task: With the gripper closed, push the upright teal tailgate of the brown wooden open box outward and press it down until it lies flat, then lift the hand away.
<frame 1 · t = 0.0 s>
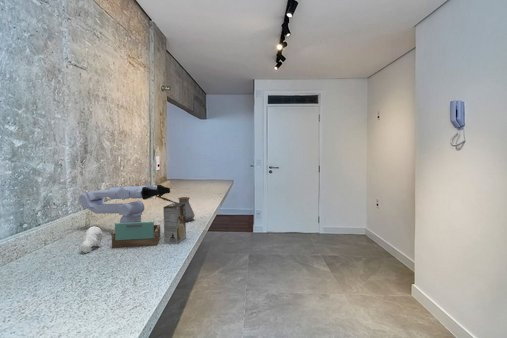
hand: (164, 191, 142), 22 cm above the worktop, tool horizontal, fingers open, 7 cm apart
coffee pot: (175, 221, 178), on the worktop
brown wooden open box: (134, 246, 132), on the worktop
tailgate: (134, 231, 132), point 7 cm above the worktop, hinge at 0.0°
white rounded lump: (90, 250, 129), on the worktop
coffee box: (175, 241, 141), on the worktop
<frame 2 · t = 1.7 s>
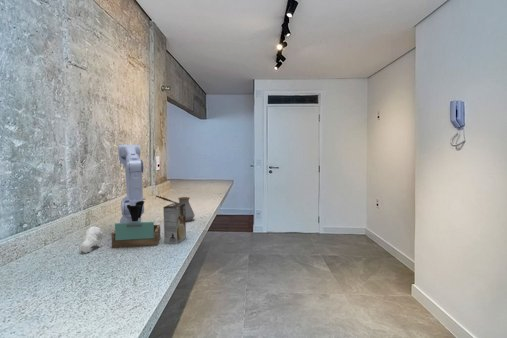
hand: (136, 219, 136), 10 cm above the worktop, tool pointing down, fingers open, 6 cm apart
nothing on the worktop moved.
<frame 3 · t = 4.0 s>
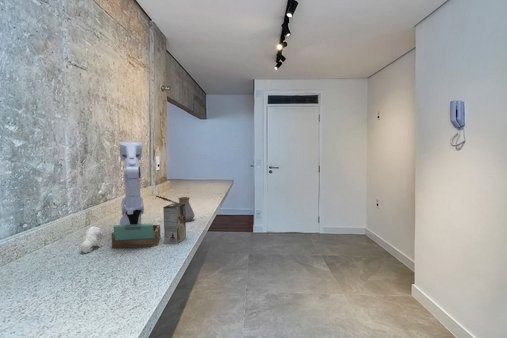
hand: (134, 228, 131), 8 cm above the worktop, tool pointing down, fingers closed, pressing on tailgate
tailgate: (134, 232, 131), point 6 cm above the worktop, hinge at 22.8°, touching gripper
everything else where it was.
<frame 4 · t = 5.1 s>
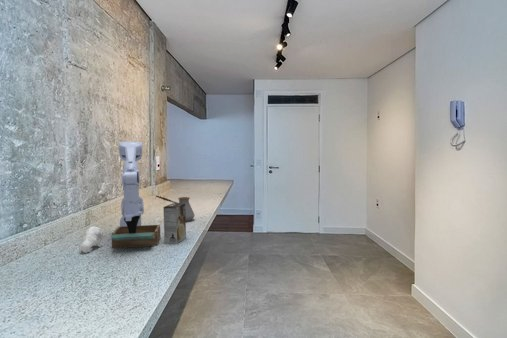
hand: (132, 234, 128), 6 cm above the worktop, tool pointing down, fingers closed, pressing on tailgate
tailgate: (133, 237, 129), point 5 cm above the worktop, hinge at 63.9°, touching gripper
everything else where it was.
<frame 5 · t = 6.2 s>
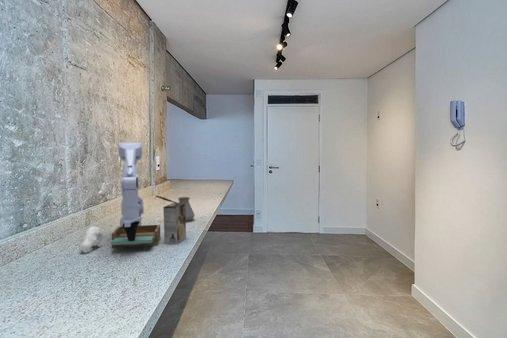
hand: (131, 240, 126), 4 cm above the worktop, tool pointing down, fingers closed, pressing on tailgate
tailgate: (133, 241, 128), point 4 cm above the worktop, hinge at 86.8°, touching gripper
everything else where it was.
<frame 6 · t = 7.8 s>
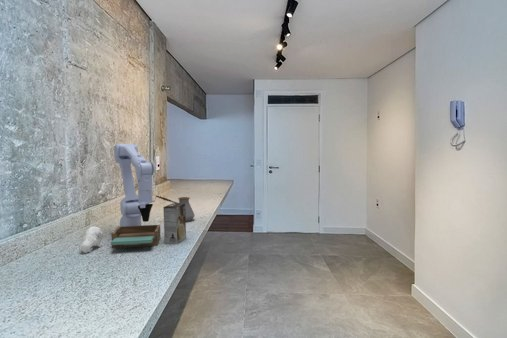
hand: (145, 221, 138), 9 cm above the worktop, tool pointing down, fingers closed
tailgate: (133, 241, 128), point 3 cm above the worktop, hinge at 86.9°
everything else where it was.
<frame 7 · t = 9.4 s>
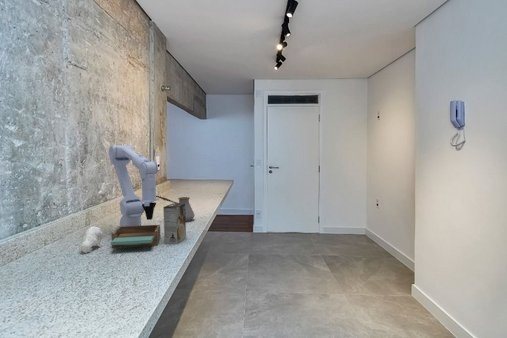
hand: (149, 219, 141), 9 cm above the worktop, tool pointing down, fingers closed
nothing on the worktop moved.
at the end: tailgate at +87° (first picture: +0°) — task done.
